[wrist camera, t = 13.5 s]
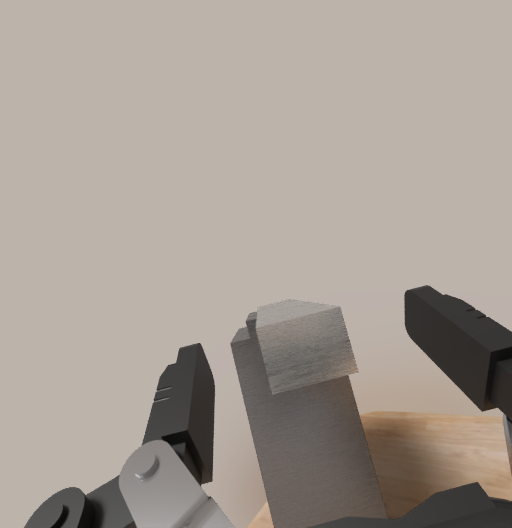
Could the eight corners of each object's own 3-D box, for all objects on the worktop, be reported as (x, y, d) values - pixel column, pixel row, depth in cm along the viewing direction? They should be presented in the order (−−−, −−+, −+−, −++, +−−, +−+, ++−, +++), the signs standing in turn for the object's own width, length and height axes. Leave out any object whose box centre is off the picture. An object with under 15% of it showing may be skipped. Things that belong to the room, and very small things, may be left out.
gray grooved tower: (417, 624, 29) (327, 300, 33) (304, 656, 29) (226, 326, 33) (365, 515, 44) (306, 298, 47) (289, 536, 43) (236, 316, 47)
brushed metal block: (358, 372, 13) (340, 306, 13) (272, 394, 13) (255, 328, 13) (295, 323, 35) (289, 299, 35) (263, 331, 35) (257, 307, 35)
